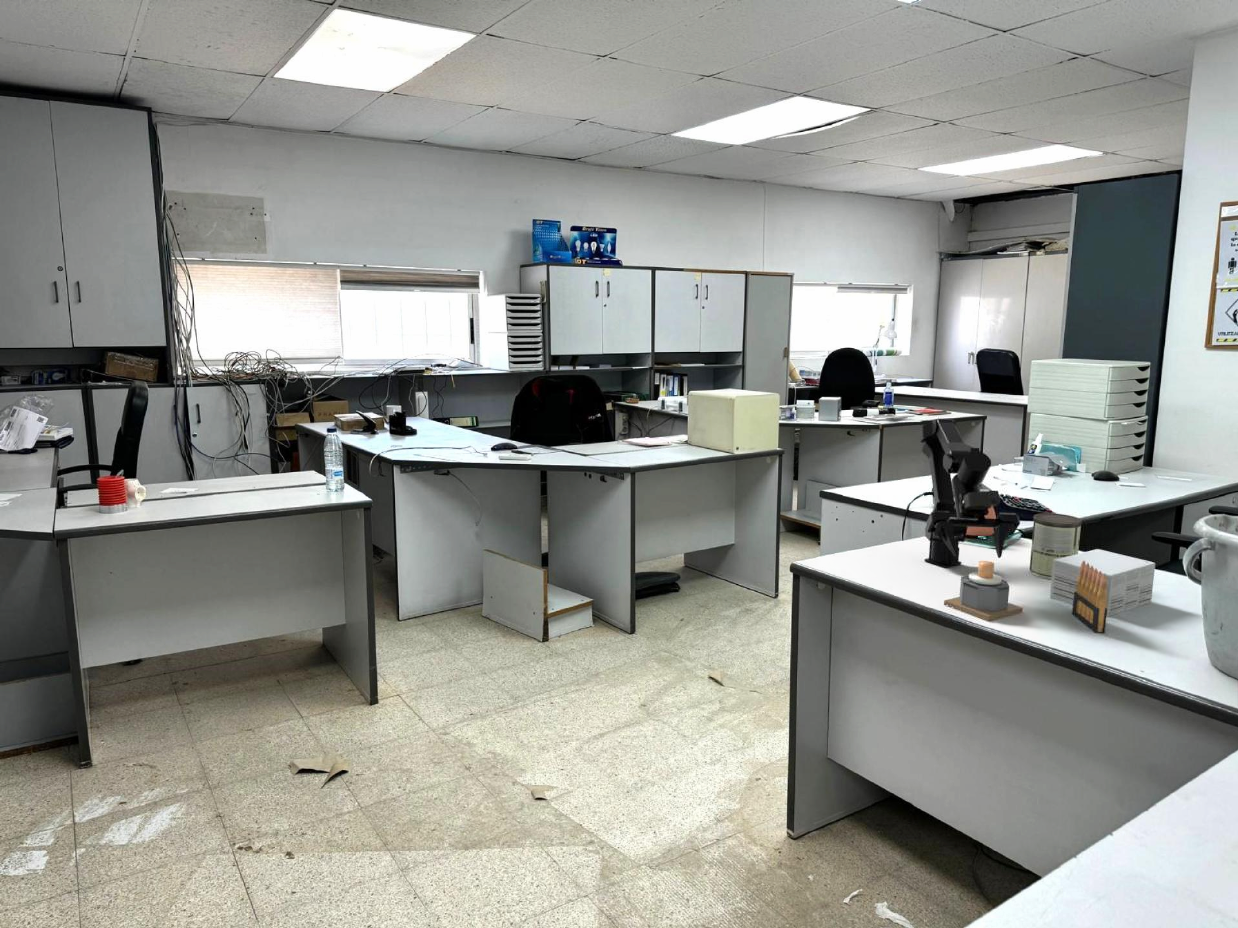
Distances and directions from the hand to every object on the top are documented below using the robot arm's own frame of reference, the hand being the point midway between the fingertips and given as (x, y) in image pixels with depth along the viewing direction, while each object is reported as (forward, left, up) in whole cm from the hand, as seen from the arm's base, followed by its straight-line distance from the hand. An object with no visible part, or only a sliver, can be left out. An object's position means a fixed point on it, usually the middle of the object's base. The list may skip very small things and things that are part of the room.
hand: (977, 556), depth 180 cm
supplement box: (+14, +24, -10) cm, 29 cm away
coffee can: (-3, +32, -10) cm, 34 cm away
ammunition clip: (+21, +8, -10) cm, 25 cm away
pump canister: (+5, -4, -10) cm, 11 cm away
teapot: (-38, +46, -10) cm, 61 cm away
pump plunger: (+5, -4, -8) cm, 10 cm away
